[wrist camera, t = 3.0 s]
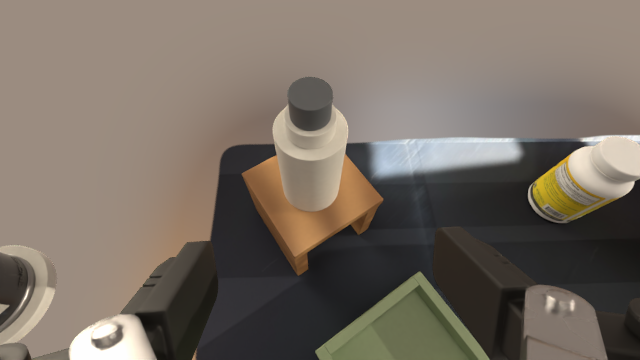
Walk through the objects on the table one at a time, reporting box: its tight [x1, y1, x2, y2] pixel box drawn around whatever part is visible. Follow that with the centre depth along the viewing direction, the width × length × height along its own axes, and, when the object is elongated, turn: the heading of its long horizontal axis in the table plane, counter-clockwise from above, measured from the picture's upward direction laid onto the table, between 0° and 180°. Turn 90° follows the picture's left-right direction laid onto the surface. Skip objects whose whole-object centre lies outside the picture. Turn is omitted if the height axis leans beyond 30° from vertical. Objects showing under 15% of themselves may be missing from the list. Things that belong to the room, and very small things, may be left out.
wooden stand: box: [242, 155, 383, 276], centre depth 34 cm, size 10×10×9 cm
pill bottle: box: [528, 136, 640, 223], centre depth 35 cm, size 6×6×11 cm
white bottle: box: [273, 77, 348, 212], centre depth 24 cm, size 5×5×12 cm
